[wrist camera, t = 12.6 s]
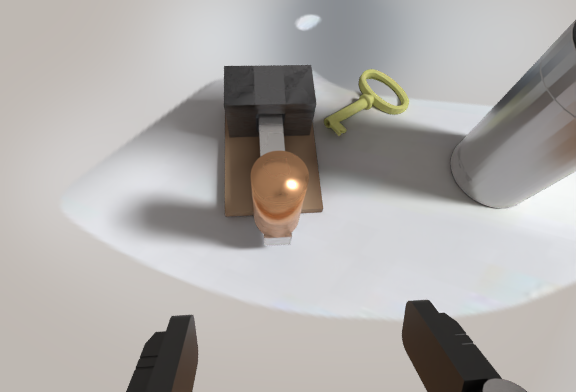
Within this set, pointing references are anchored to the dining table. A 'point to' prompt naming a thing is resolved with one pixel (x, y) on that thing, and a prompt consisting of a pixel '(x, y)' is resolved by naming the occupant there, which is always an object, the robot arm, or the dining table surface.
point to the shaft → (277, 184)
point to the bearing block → (269, 98)
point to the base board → (241, 161)
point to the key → (368, 101)
